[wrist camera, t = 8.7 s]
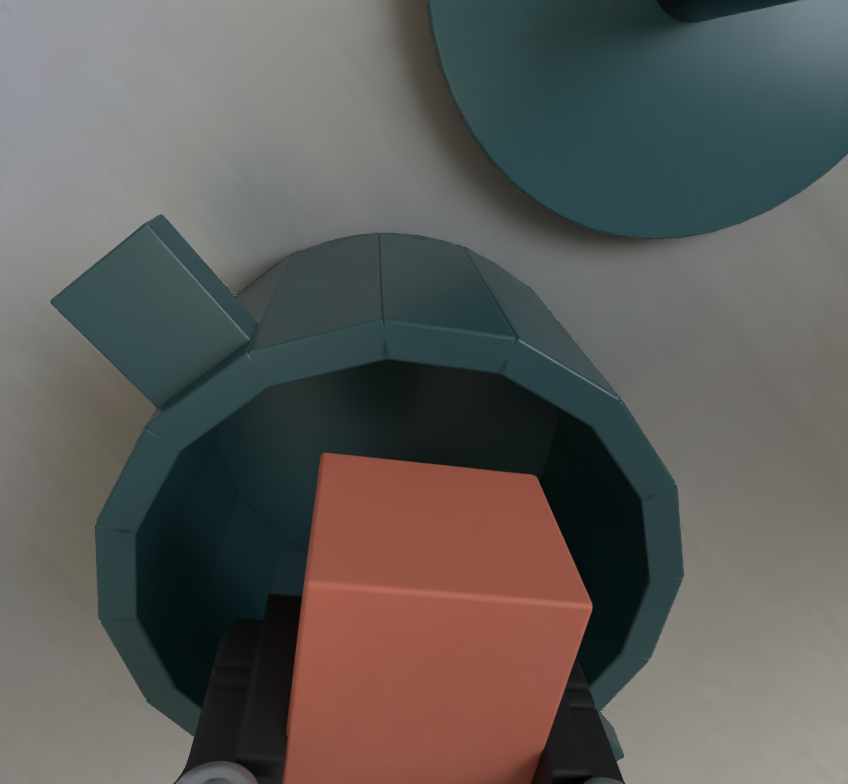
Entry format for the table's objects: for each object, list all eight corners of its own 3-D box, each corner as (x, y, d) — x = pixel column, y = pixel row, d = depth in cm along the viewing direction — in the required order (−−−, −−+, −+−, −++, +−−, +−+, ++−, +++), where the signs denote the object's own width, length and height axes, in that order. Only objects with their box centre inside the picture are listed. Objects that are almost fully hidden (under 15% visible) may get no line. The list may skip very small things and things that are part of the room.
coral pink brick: (321, 449, 12) (303, 582, 9) (537, 473, 12) (596, 605, 9) (284, 757, 15) (261, 937, 12) (457, 765, 15) (479, 939, 12)
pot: (377, 55, 18) (381, 26, 10) (671, 502, 24) (811, 692, 17) (43, 325, 20) (-164, 471, 12) (396, 664, 27) (407, 897, 19)
